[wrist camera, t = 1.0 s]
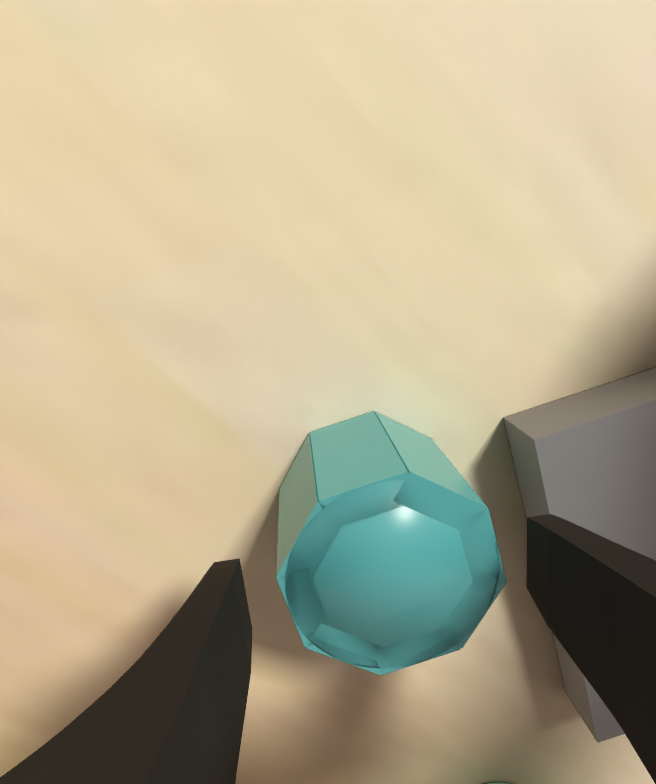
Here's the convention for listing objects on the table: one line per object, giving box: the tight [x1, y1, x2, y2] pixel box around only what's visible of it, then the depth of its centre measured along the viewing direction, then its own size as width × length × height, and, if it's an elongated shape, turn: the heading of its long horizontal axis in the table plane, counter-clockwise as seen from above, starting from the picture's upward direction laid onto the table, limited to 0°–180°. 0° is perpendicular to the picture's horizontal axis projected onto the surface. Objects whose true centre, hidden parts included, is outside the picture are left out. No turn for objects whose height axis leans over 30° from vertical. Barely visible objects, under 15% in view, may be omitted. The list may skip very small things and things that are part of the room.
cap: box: [276, 411, 506, 675], centre depth 14 cm, size 5×5×4 cm
